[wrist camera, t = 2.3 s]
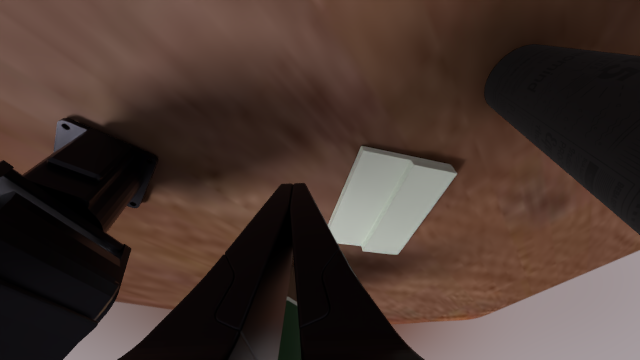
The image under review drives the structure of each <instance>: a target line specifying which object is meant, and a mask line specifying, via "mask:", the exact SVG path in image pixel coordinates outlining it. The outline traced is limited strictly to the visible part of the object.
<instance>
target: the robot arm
mask: <svg viewBox="0 0 640 360" xmlns="http://www.w3.org/2000/svg"><path fill="white" fill-rule="evenodd" d="M66 124H67V125H69V127H68V126H67V125H66ZM149 159H151V160H152V161H150V160H149ZM157 163H158V158H157V157H156V156H155V155H154V154H151V153H149V152H147V151H144V150H142V149H140V148H137V147H135V146H133V145H130V144H128V143H126V142H123V141H121V140H119V139H116V138H114V137H112V136H109V135H107V134H105V133H102V132H100V131H97V130H95V129H93V128H90V127H88V126H86V125H83V124H81V123H79V122H76V121H74V120H72V119H69V118H63V119H61V120H60V121H58V123H57V129H56V137H55V145H54V153H53V154H51V155H50V156H49V157H47V158H46V159H44V160H43V161H41V162H40V163H39V164H37V165H36V166H34V167H33V168H31V169H30V170H29V171H27V172H26V173H24V174H23V175H21V174H20V173H18V172H17V171H15V170H14V169H13V168H14V167H13V166H11V165H10V164H8V163H7V162H5V161H4V160H3V161H1V162H0V360H63V359H64V358H65V357H66V356H67V355H68V354H69V352H70V351H71V350H72V349H73V348H74V347H75V346H76V345H77V344H78V343H79V342H80V341H81V340H82V339H83V338H84V337H86V336H87V335H88V334H89V333H90V332H91V331H92V330H93V329H94V328H95V327H96V326H97V325H98V323H99V322H100V320H101V319H102V318H103V317H104V316H105V315H106V314H107V312H108V311H109V309H110V308H111V307H112V305H113V303H114V301H115V300H116V298H117V295H118V293H119V289H120V286H121V282H122V279H123V276H124V272H125V269H126V265H127V262H128V258H129V255H130V252H131V248H130V247H128V246H127V245H125V244H121V243H120V242H119V241H117V240H116V239H114V238H113V237H111V236H110V235H108V234H107V233H106V232H107V231H108V230H109V228H110V227H111V226H112V224H113V223H114V222H115V220H116V219H117V218H118V216H119V215H120V214H121V213H122V211H123V210H124V209H125V207H126V206H129V207H132V208H138V207H139V206H140V204H141V203H142V200H143V198H144V195H145V193H146V190H147V188H148V185H149V183H150V180H151V178H152V175H153V173H154V170H155V168H156V165H157ZM293 258H294V270H295V283H296V296H297V308H298V321H299V330H300V332H299V333H300V347H301V360H424V359H423V358H422V357H421V356H419V355H418V354H417V353H416V352H415V351H413V350H412V349H411V348H410V347H409V346H408V345H407V344H406V343H405V341H404V340H403V339H402V338H401V337H400V336H399V335H398V333H397V332H396V331H395V329H394V328H393V327H392V326H391V324H390V323H389V321H388V320H387V319H386V317H385V316H384V315H383V313H382V312H381V310H380V309H379V308H378V306H377V305H376V304H375V302H374V301H373V299H372V298H371V297H370V295H369V294H368V293H367V291H366V290H365V289H364V287H363V286H362V284H361V283H360V281H359V280H358V278H357V277H356V275H355V274H354V272H353V270H352V269H351V267H350V265H349V264H348V262H347V260H346V258H345V257H344V255H343V253H342V251H341V250H340V248H339V246H338V244H337V242H336V240H335V238H334V236H333V235H332V233H331V231H330V229H329V227H328V225H327V223H326V221H325V220H324V218H323V216H322V214H321V212H320V210H319V208H318V207H317V205H316V203H315V201H314V199H313V197H312V195H311V194H310V192H309V190H308V188H307V186H306V184H305V183H295V184H281V185H280V186H279V187H278V188H277V190H276V191H275V192H274V193H273V195H272V196H271V197H270V198H269V199H268V201H267V202H266V203H265V204H264V206H263V207H262V208H261V209H260V210H259V212H258V213H257V214H256V215H255V217H254V218H253V219H252V220H251V222H250V223H249V224H248V225H247V226H246V228H245V229H244V230H243V231H242V233H241V234H240V235H239V236H238V237H237V239H236V240H235V241H234V242H233V244H232V245H231V246H230V247H229V248H228V250H227V251H226V252H225V255H223V256H222V257H221V258H220V259H219V261H218V262H217V263H216V264H215V265H214V266H213V268H212V269H211V270H210V271H209V272H208V273H207V275H206V276H205V277H204V278H203V279H202V280H201V281H200V282H199V283H198V284H197V286H196V287H195V288H194V289H193V290H192V291H191V292H190V293H189V294H188V295H187V296H186V297H185V298H184V299H183V300H182V301H181V302H180V303H179V304H178V305H177V306H176V307H175V308H174V309H173V310H172V311H171V312H170V313H169V314H168V315H167V316H166V317H165V318H164V319H163V320H162V321H161V322H160V323H159V324H158V325H157V326H156V327H155V328H154V329H153V330H152V331H151V332H150V333H149V335H147V336H146V337H145V338H144V339H143V340H142V341H141V342H140V343H139V344H138V345H136V346H135V347H134V348H133V349H132V350H130V351H129V352H128V353H126V354H125V355H124V356H122V357H121V358H119V359H118V360H278V354H279V347H280V341H281V334H282V327H283V320H284V314H285V307H286V300H287V294H288V287H289V280H290V273H291V267H292V260H293Z"/></svg>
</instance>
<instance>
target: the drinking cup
mask: <svg viewBox="0 0 640 360" xmlns="http://www.w3.org/2000/svg"><path fill="white" fill-rule="evenodd" d="M484 95H485V100H486V102H487V104H488V105H489V106H490V107H491V108H492V109H494V110H495V111H496V112H497V113H498V114H499V115H501V116H502V117H503V118H504V119H505V120H506V121H508V122H509V123H510V124H511V125H512V126H513V127H515V128H516V129H517V130H518V131H519V132H520V133H522V134H523V135H524V136H525V137H526V138H527V139H529V140H530V141H531V142H532V143H533V144H534V145H536V146H537V147H538V148H539V149H540V150H541V151H543V152H544V153H545V154H546V155H547V156H548V157H550V158H551V159H552V160H553V161H554V162H555V163H557V164H558V165H559V166H560V167H561V168H562V169H564V170H565V171H566V172H567V173H568V174H569V175H571V176H572V177H573V178H574V179H575V180H576V181H578V182H579V183H580V184H581V185H582V186H583V187H585V188H586V189H587V190H588V191H589V192H590V193H592V194H593V195H594V196H595V197H596V198H597V199H599V200H600V201H601V202H602V203H603V204H604V205H606V206H607V207H608V208H609V209H610V210H611V211H613V212H614V213H615V214H616V215H617V216H618V217H620V218H621V219H622V220H623V221H624V222H625V223H626V224H628V225H629V226H630V227H631V228H632V229H633V230H635V231H636V232H637V233H638V234H639V235H640V56H634V55H625V54H616V53H607V52H599V51H590V50H581V49H573V48H564V47H555V46H546V45H537V44H531V45H526V46H523V47H520V48H518V49H516V50H514V51H512V52H511V53H509V54H508V55H506V56H505V57H504V58H503V59H502V60H501V61H500V62H499V63H498V64H497V65H496V66H495V67H494V69H493V70H492V72H491V73H490V75H489V77H488V79H487V82H486V85H485V91H484Z"/></svg>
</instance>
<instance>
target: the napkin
mask: <svg viewBox="0 0 640 360" xmlns="http://www.w3.org/2000/svg"><path fill="white" fill-rule="evenodd" d="M456 175H457V173H456V171H455V170H454V168H453V167H452V166H451V165H450V164H446V163H442V162H437V161H432V160H427V159H423V158H418V157H413V156H408V155H404V154H399V153H394V152H389V151H385V150H380V149H375V148H370V147H366V146H361V148H360V150H359V152H358V155H357V157H356V159H355V162H354V164H353V167H352V169H351V171H350V174H349V176H348V178H347V181H346V183H345V185H344V188H343V190H342V193H341V195H340V197H339V200H338V202H337V204H336V207H335V209H334V211H333V214H332V216H331V219H330V221H329V223H328V227H329V229H330V231H331V233H332V235H333V236H334V238H335V240H336V242H337V243H340V244H348V245H357V246H362V250H363V251H366V252H375V253H384V254H393V255H398V254H399V253H400V251H401V250H402V248H403V247H404V246H405V244H406V243H407V242H408V240H409V239H410V238H411V236H412V235H413V233H414V232H415V231H416V229H417V228H418V227H419V225H420V224H421V223H422V221H423V220H424V219H425V217H426V216H427V214H428V213H429V212H430V210H431V209H432V208H433V206H434V205H435V204H436V202H437V201H438V199H439V198H440V197H441V195H442V194H443V193H444V191H445V190H446V189H447V187H448V186H449V184H450V183H451V182H452V180H453V179H454V178H455V176H456Z"/></svg>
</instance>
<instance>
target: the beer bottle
mask: <svg viewBox="0 0 640 360" xmlns="http://www.w3.org/2000/svg"><path fill="white" fill-rule="evenodd" d="M299 332H300V330H299V321H298V308H297V296H296V283H295V270H294V266H292V267H291V273H290V280H289V287H288V294H287V300H286V307H285V314H284V320H283V327H282V334H281V341H280V347H279V354H278V360H301V347H300V333H299Z"/></svg>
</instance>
